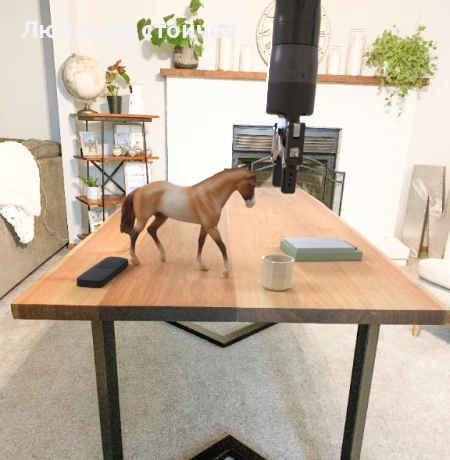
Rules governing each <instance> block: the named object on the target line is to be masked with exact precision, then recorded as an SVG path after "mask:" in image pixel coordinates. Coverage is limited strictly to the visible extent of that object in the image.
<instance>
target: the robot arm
mask: <svg viewBox="0 0 450 460" xmlns="http://www.w3.org/2000/svg"><path fill="white" fill-rule="evenodd" d="M321 26H322V0H275V1H274V12H273V19H272V31H271V44H270V53H269V54H270V55H269V58H268V64H267V76H266V77H267V78H266V93H265V109H264V111H265V114H267V115H270V116H277V117H278V119H277V122H273V124H272V128H273V129H272V138H271V148H270V149H271V150H270V151H271V152H270V159H271V162H272V165H273V166H272V176H271V185H272V187H274V188H280V193H282V194H284V195H294V194H295V193H296V187H297V177H298V170H299V169H300V167H301V166H302V165H303V163H304V150H305V149H304V148H305V138H306V137H305V136H306V129H307V124H306V122H301V117H311V116H313V114H314V113H315V111H314V110H315V101H316V92H317V81H318V74H319V73H318V72H319V47H320V36H321Z"/></svg>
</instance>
